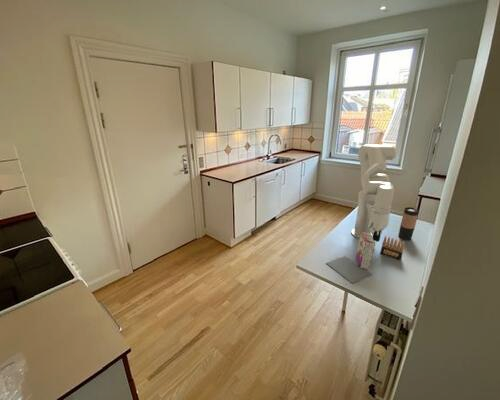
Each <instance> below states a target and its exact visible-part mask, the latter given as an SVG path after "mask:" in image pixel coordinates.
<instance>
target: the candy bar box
mask: <svg viewBox="0 0 500 400" xmlns="http://www.w3.org/2000/svg"><path fill="white" fill-rule="evenodd" d="M375 246H376V241H374V239H373V235H372V236H371V234H370V233H366V232H361V235H360V238H358V245H357V249H356V254H355V259H356V261H357V262H356V263H357V264H358V265H359V267H360V268H362V269H366V270H370V267H371V263H372V257H373V254H374V252H375V251H374V250H375Z"/></svg>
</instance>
